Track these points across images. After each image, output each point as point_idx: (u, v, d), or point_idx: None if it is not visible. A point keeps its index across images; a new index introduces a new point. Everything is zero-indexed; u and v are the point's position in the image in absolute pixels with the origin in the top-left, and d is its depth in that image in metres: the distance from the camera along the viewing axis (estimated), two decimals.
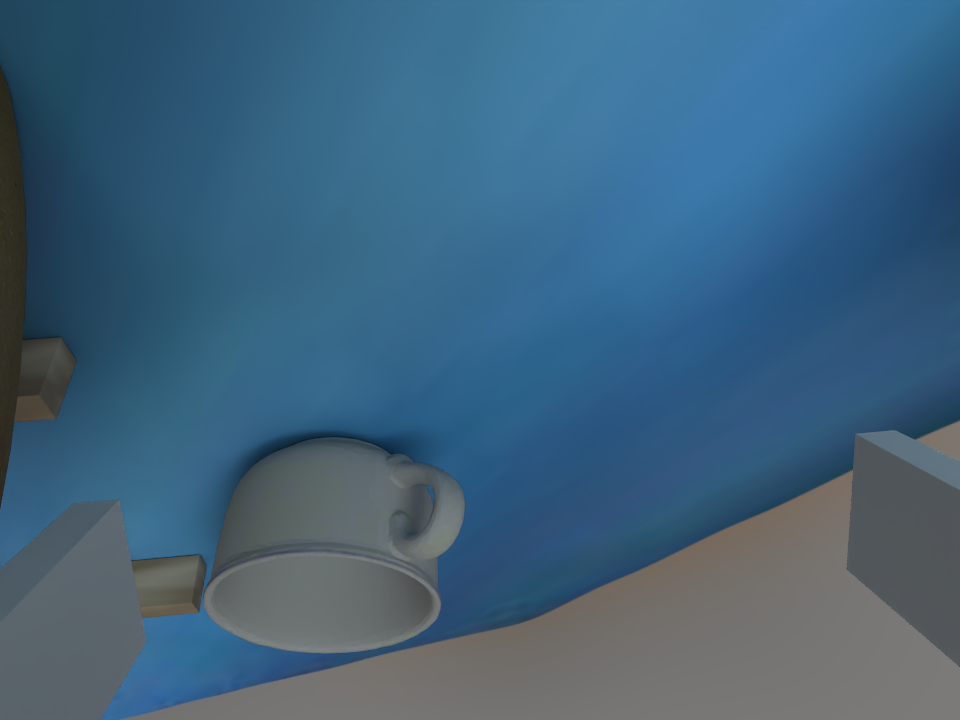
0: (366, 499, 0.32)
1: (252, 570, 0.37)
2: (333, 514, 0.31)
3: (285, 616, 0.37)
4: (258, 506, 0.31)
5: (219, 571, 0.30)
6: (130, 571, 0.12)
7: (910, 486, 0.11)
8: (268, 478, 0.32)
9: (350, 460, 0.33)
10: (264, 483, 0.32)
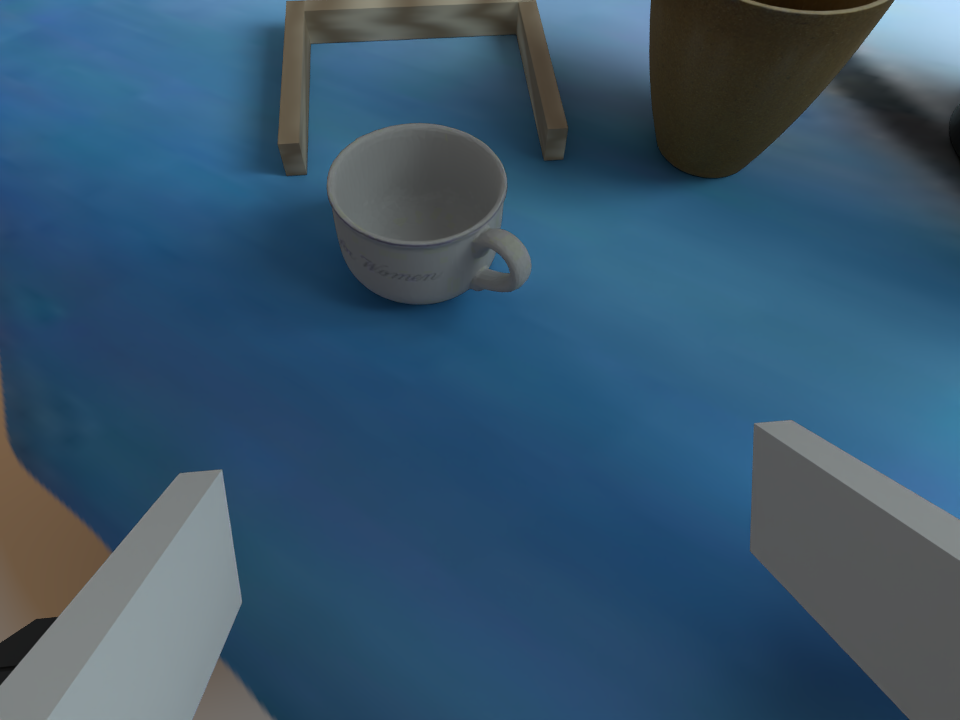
0: None
1: (383, 173, 0.48)
2: (502, 210, 0.44)
3: (352, 170, 0.45)
4: None
5: None
6: (229, 536, 0.13)
7: (793, 470, 0.12)
8: None
9: None
10: None
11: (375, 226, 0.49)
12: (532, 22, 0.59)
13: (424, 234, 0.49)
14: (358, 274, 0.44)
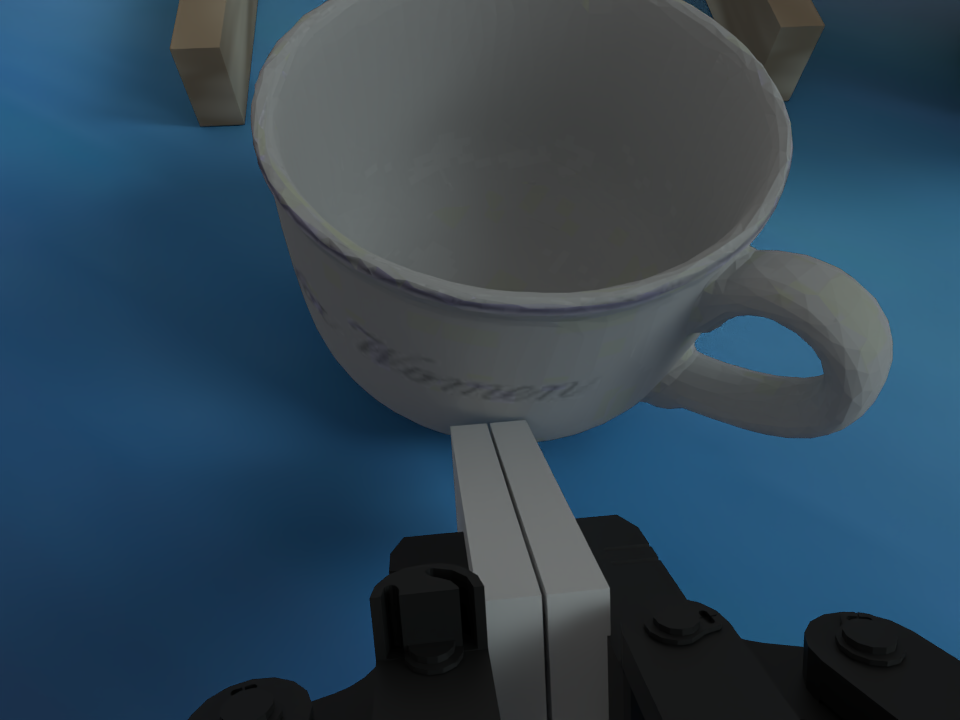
0: None
1: (416, 97, 0.19)
2: None
3: (337, 76, 0.17)
4: None
5: None
6: None
7: None
8: None
9: None
10: None
11: (393, 225, 0.21)
12: None
13: (508, 247, 0.21)
14: (345, 362, 0.16)
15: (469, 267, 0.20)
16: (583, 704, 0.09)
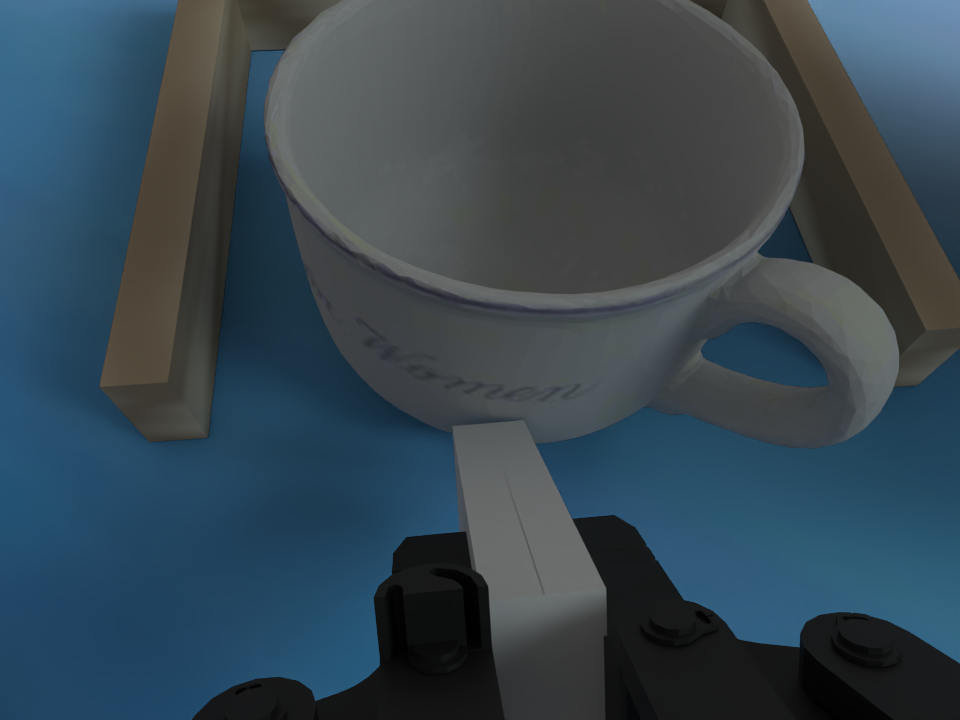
0: None
1: (431, 96, 0.19)
2: None
3: (352, 74, 0.17)
4: None
5: None
6: None
7: None
8: None
9: None
10: None
11: (405, 224, 0.21)
12: (789, 6, 0.24)
13: (518, 249, 0.21)
14: (350, 358, 0.16)
15: (479, 268, 0.21)
16: (579, 704, 0.09)
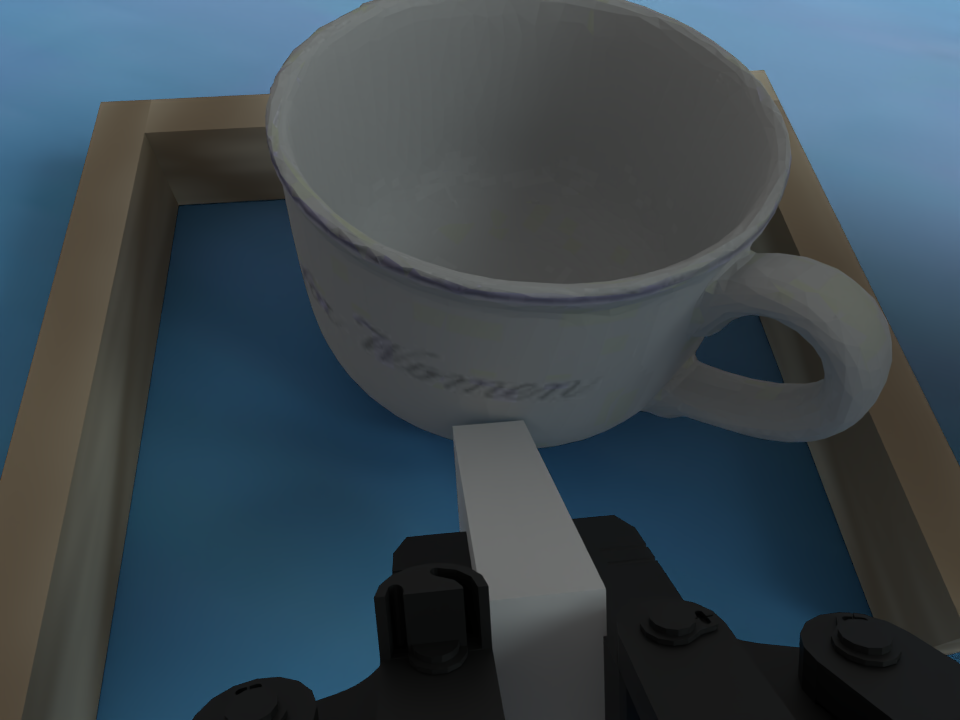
0: None
1: (424, 114, 0.20)
2: None
3: (349, 88, 0.17)
4: None
5: None
6: None
7: None
8: None
9: None
10: None
11: (399, 240, 0.21)
12: None
13: (511, 263, 0.21)
14: (348, 364, 0.16)
15: None
16: (579, 704, 0.09)
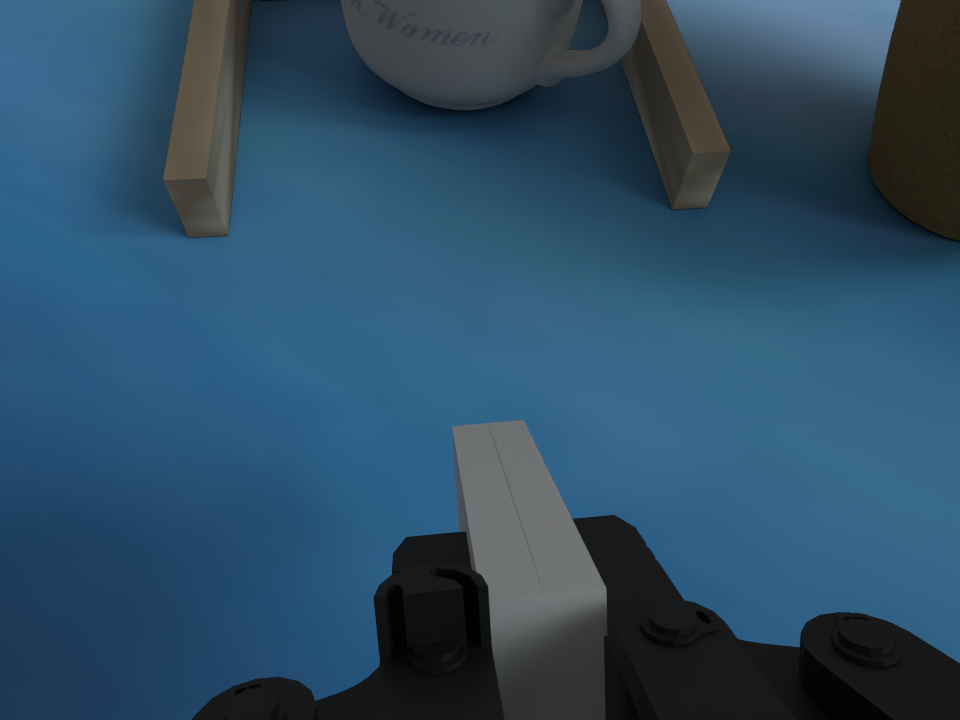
0: None
1: None
2: None
3: None
4: None
5: None
6: None
7: None
8: None
9: None
10: None
11: None
12: None
13: None
14: (369, 47, 0.29)
15: None
16: (580, 705, 0.09)
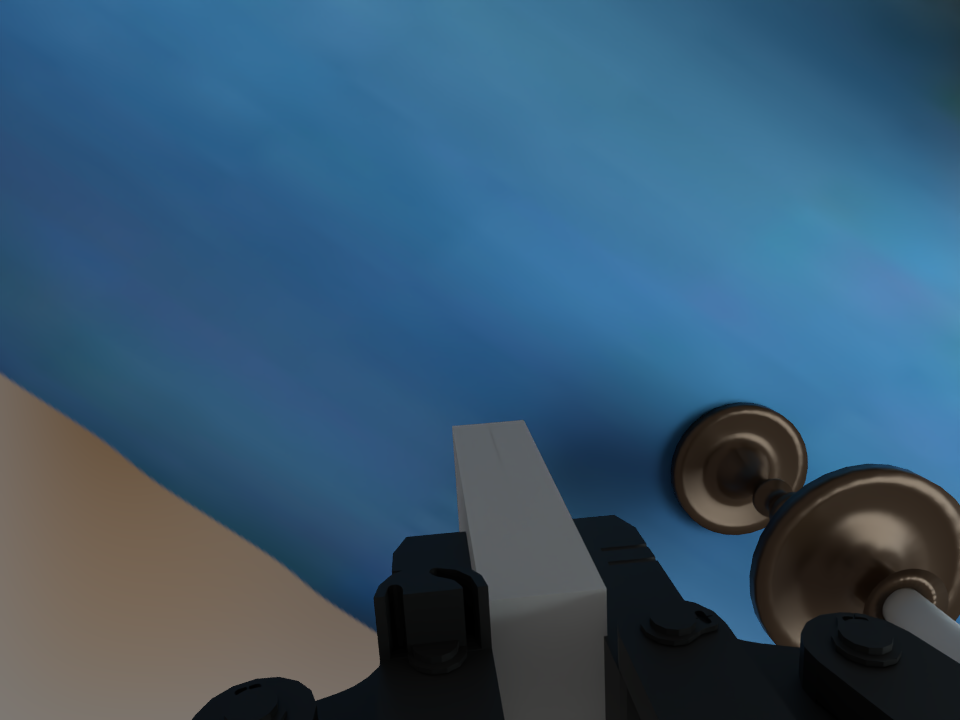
0: None
1: None
2: None
3: None
4: None
5: None
6: None
7: None
8: None
9: None
10: None
11: None
12: None
13: None
14: None
15: None
16: (580, 705, 0.09)
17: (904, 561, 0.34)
